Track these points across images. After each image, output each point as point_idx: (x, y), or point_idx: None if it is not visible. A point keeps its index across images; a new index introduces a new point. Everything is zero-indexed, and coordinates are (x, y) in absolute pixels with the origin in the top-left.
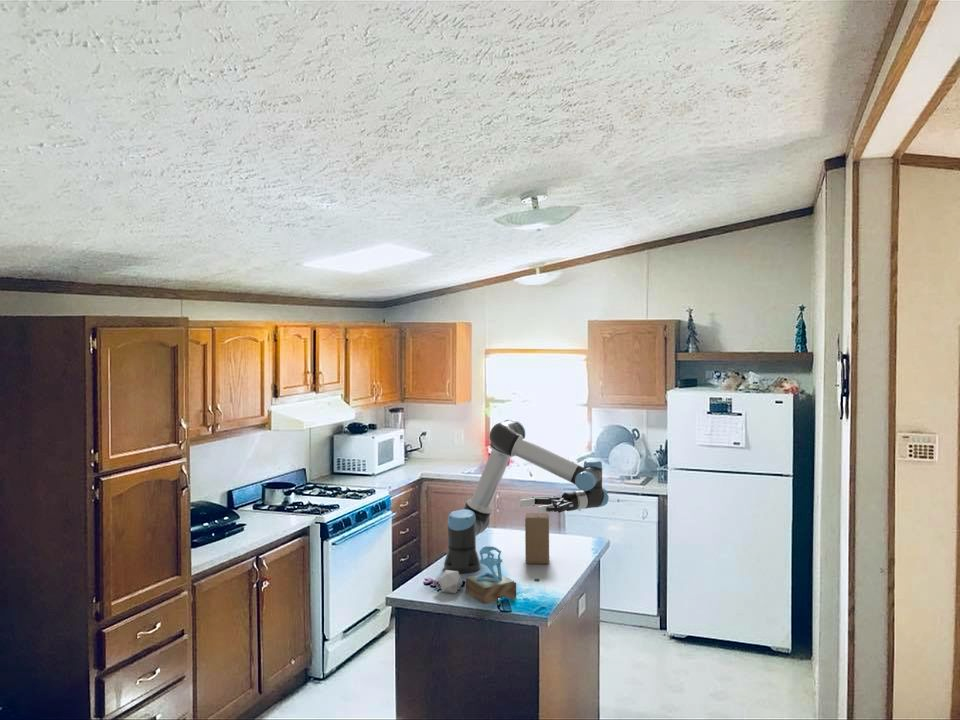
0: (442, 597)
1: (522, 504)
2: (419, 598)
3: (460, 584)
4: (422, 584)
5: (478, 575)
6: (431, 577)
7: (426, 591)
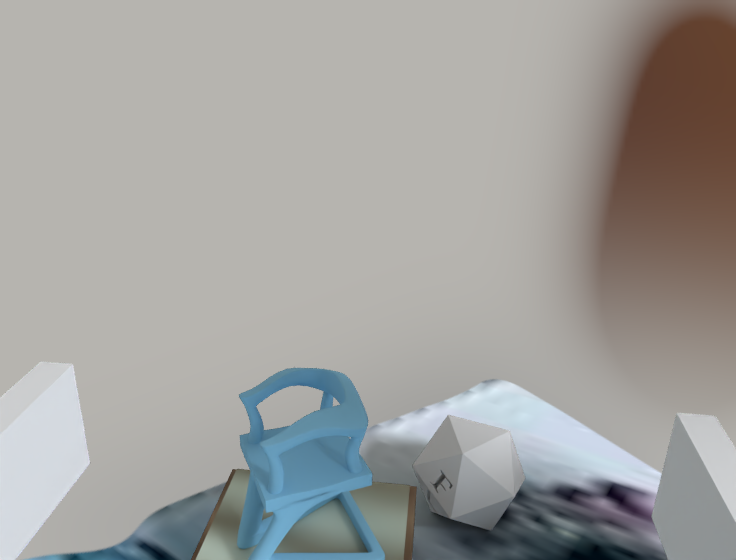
0: None
1: (672, 511)
2: None
3: (437, 504)
4: (612, 476)
5: (402, 531)
6: None
7: None
